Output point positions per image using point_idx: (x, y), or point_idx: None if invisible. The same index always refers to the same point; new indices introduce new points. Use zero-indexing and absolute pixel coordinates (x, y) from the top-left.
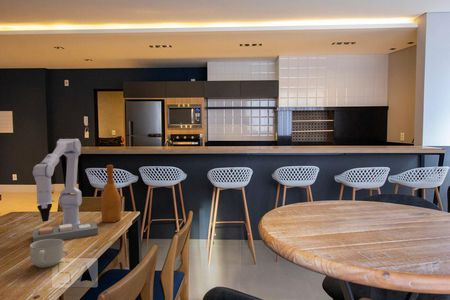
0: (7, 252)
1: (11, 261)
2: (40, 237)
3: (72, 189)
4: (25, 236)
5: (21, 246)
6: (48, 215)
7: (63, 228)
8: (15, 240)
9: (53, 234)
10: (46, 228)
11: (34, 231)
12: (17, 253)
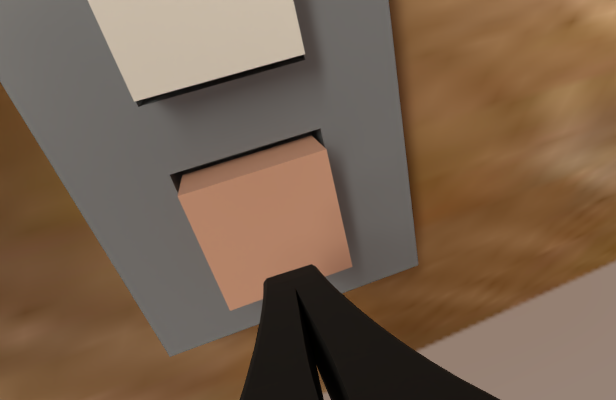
0: (463, 319)
1: (607, 242)
2: (409, 213)
3: None
4: (155, 366)
5: (391, 294)
6: (368, 320)
7: (290, 1)
8: (244, 382)
9: (393, 108)
10: (267, 231)
11: (219, 328)
12: (508, 263)
